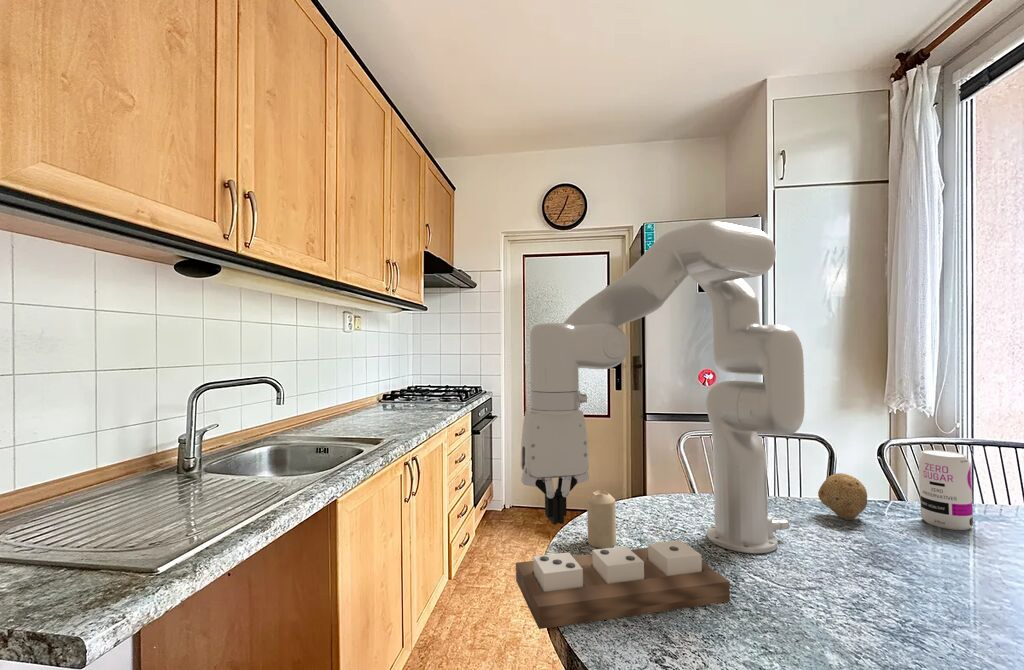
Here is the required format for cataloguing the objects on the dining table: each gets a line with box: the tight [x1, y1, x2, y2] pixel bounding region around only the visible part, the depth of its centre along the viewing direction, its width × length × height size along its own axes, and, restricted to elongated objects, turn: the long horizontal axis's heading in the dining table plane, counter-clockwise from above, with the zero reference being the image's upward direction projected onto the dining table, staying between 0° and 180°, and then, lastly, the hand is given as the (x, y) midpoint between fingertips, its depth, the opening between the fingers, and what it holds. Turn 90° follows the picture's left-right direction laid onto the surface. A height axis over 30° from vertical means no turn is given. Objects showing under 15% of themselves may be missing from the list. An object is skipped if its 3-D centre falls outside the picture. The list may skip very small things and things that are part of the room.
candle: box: [586, 489, 617, 549], centre depth 94 cm, size 6×6×10 cm
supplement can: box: [918, 449, 974, 531], centre depth 101 cm, size 8×8×15 cm
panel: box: [515, 547, 731, 630], centre depth 75 cm, size 30×14×3 cm, turn 102°
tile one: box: [647, 539, 703, 576], centre depth 77 cm, size 6×6×3 cm
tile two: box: [591, 545, 644, 584], centre depth 75 cm, size 6×6×3 cm
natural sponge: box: [817, 472, 868, 521], centre depth 105 cm, size 9×9×10 cm
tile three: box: [533, 552, 583, 592], centre depth 73 cm, size 6×6×3 cm
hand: (555, 521), depth 73 cm, fingers closed
